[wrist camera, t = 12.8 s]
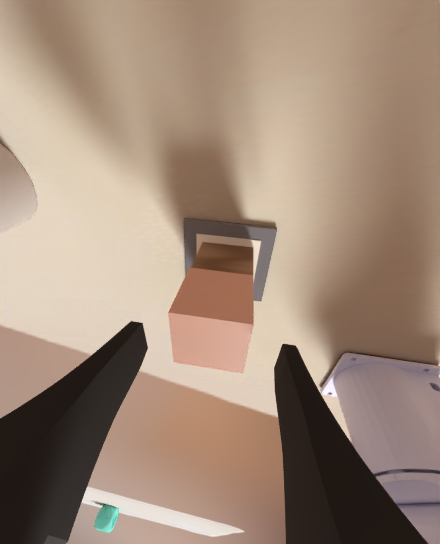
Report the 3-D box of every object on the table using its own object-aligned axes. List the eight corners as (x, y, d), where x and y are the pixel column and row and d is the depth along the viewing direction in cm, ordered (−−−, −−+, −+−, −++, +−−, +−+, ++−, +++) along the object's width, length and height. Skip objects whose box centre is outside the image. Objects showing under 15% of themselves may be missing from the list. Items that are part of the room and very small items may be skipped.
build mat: (276, 227, 16) (277, 230, 15) (261, 298, 19) (261, 302, 19) (185, 218, 16) (183, 220, 16) (187, 289, 20) (186, 292, 20)
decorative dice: (115, 506, 108) (107, 531, 101) (120, 509, 112) (112, 533, 106) (101, 503, 109) (92, 527, 102) (106, 507, 113) (97, 530, 107)
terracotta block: (253, 275, 13) (253, 324, 9) (245, 320, 15) (242, 373, 12) (189, 267, 13) (168, 312, 10) (191, 313, 15) (173, 362, 12)
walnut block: (253, 247, 16) (253, 276, 13) (247, 287, 18) (245, 321, 15) (202, 241, 16) (190, 268, 13) (202, 282, 19) (191, 314, 15)
